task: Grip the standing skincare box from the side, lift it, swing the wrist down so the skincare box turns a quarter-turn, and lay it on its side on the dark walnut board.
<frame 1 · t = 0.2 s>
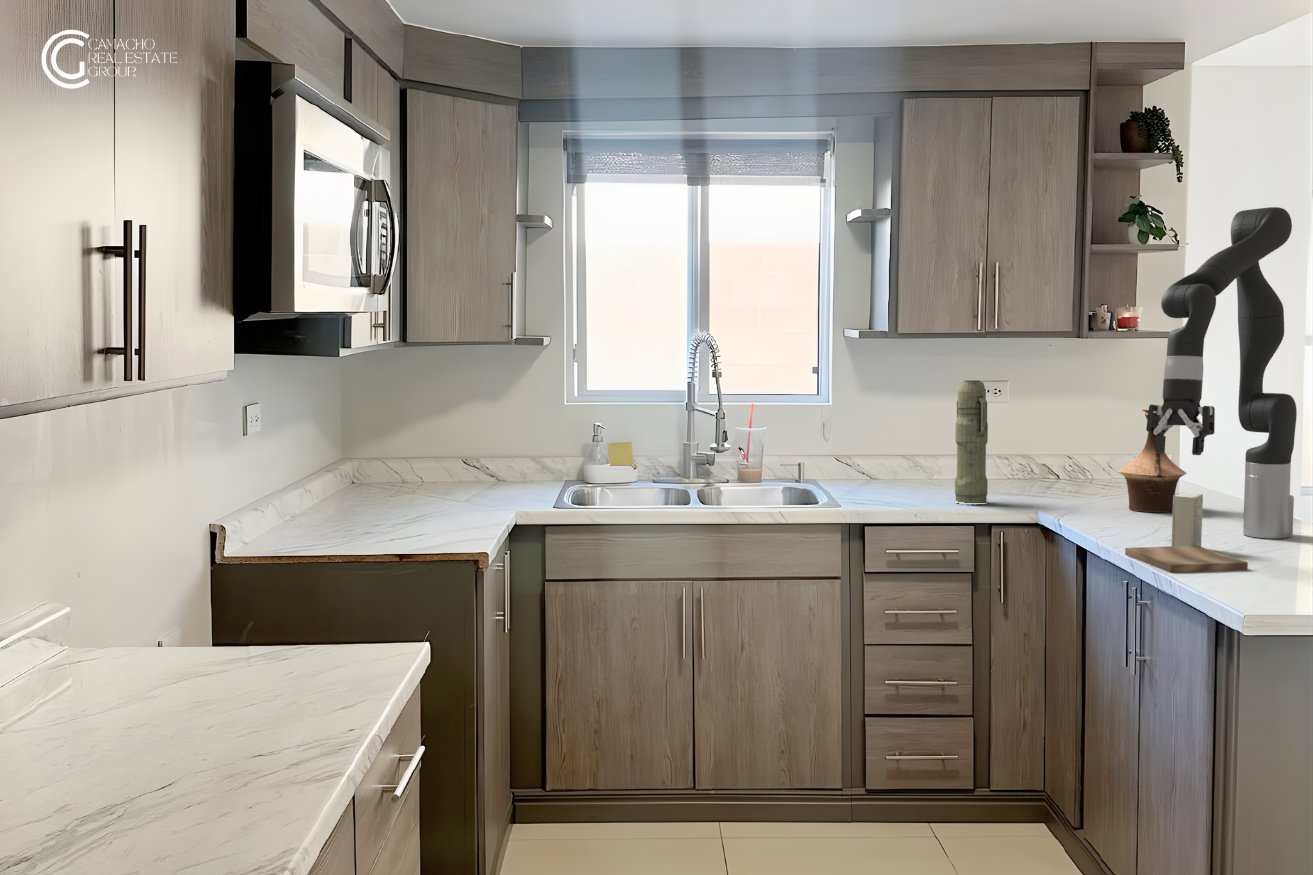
hand: (1177, 453, 231), 22 cm above the worktop, tool pointing down, fingers open, 8 cm apart
walnut board: (1184, 561, 225), on the worktop
pitcher: (1150, 510, 291), on the worktop
thermos: (970, 503, 309), on the worktop
skincare box: (1186, 549, 238), on the worktop
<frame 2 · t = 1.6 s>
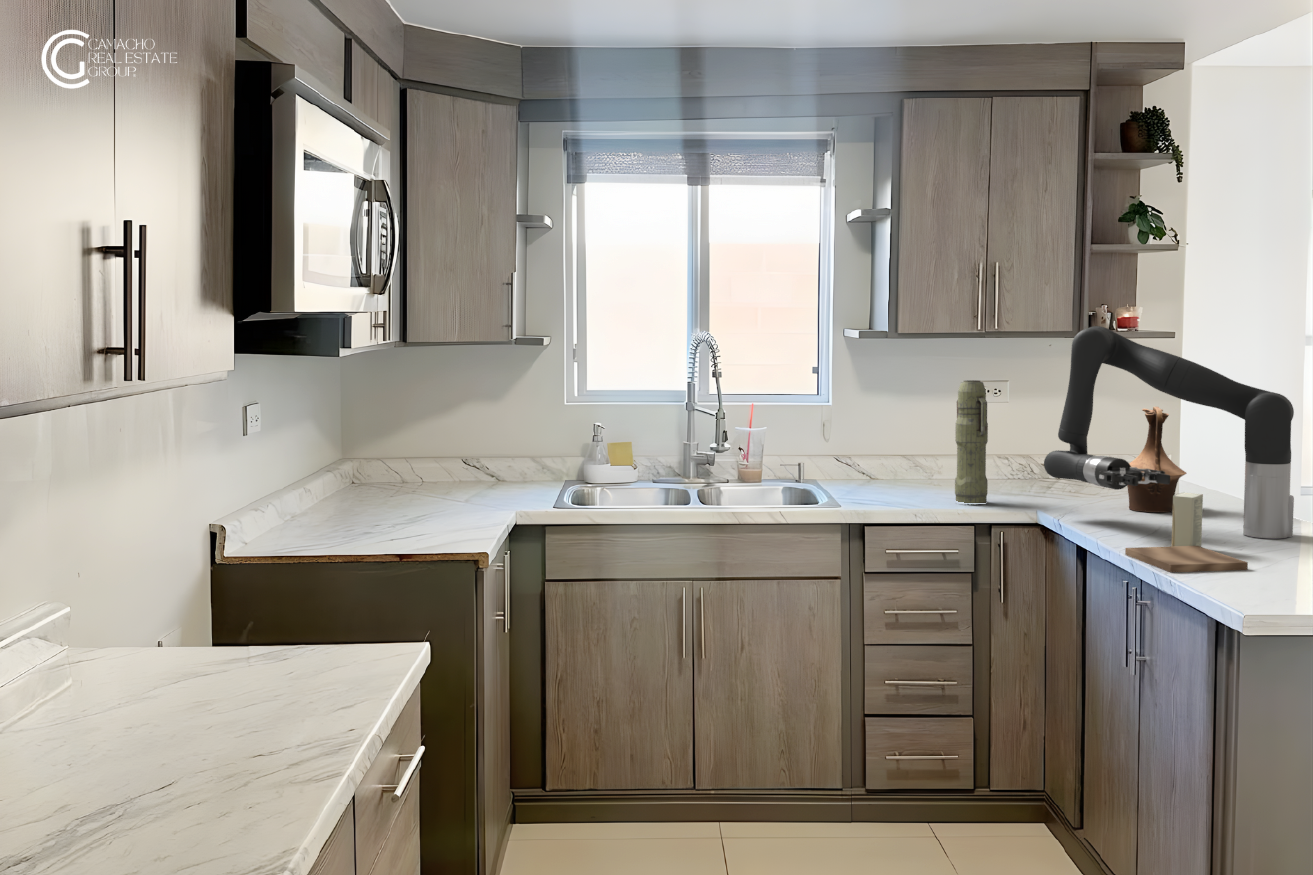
hand: (1153, 480, 248), 14 cm above the worktop, tool horizontal, fingers open, 8 cm apart
nothing on the worktop moved.
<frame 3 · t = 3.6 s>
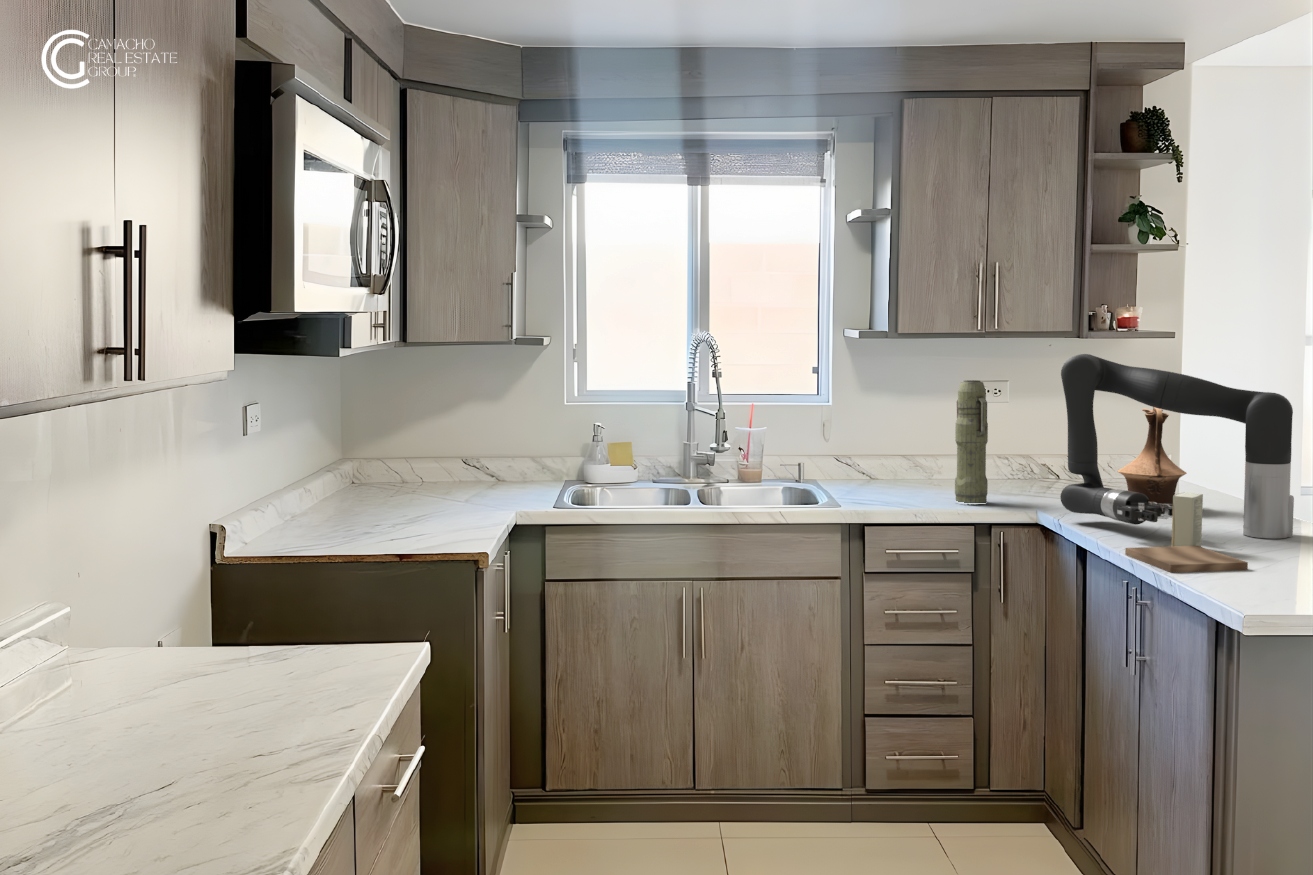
hand: (1172, 516, 242), 7 cm above the worktop, tool horizontal, fingers open, 8 cm apart
nothing on the worktop moved.
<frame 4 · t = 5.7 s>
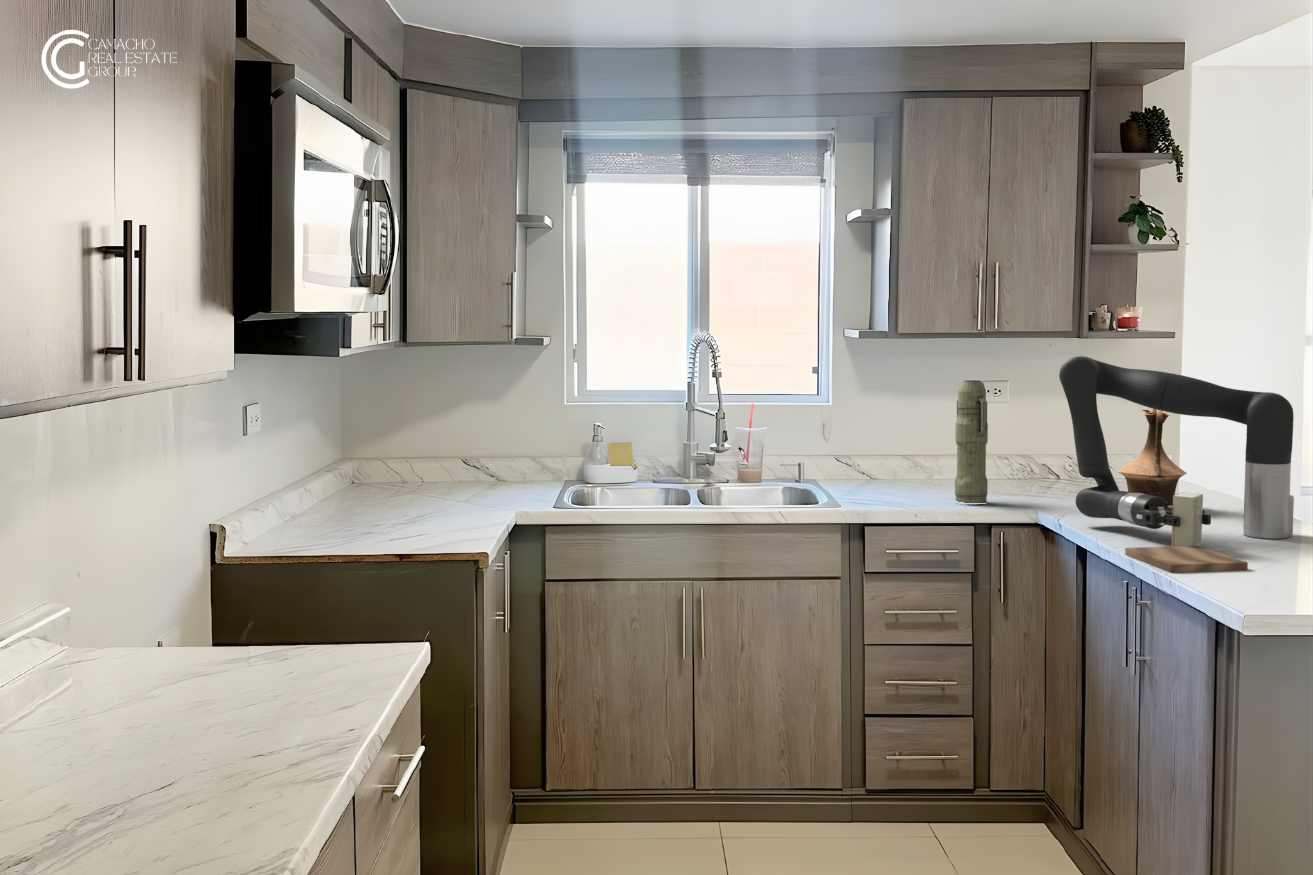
hand: (1194, 521, 236), 7 cm above the worktop, tool horizontal, fingers closed on skincare box, 7 cm apart
skincare box: (1186, 549, 238), on the worktop, touching gripper
everything else where it was.
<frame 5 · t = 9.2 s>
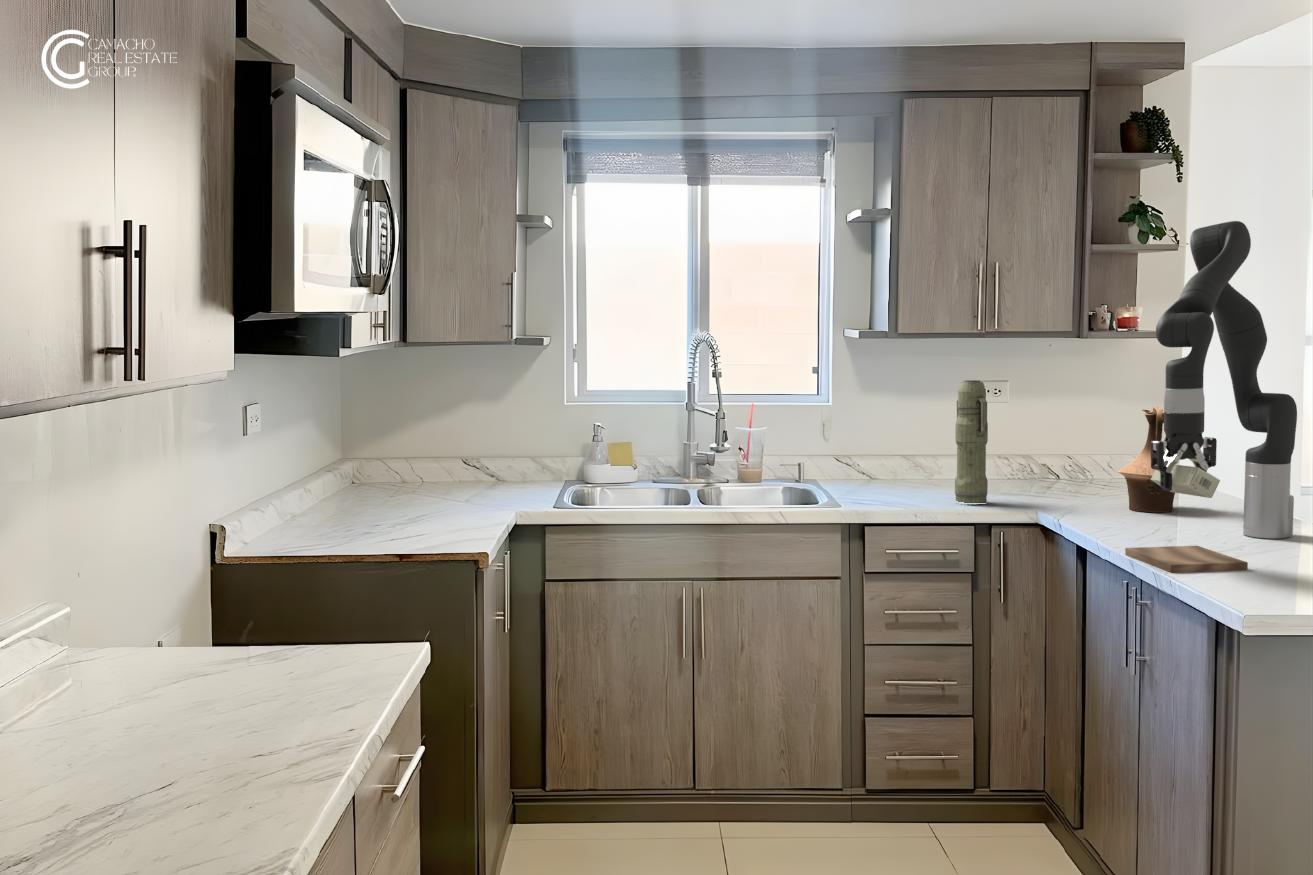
hand: (1183, 489, 224), 15 cm above the worktop, tool pointing down, fingers closed on skincare box, 7 cm apart
skincare box: (1206, 483, 217), point 17 cm above the worktop, touching gripper
everything else where it was.
when the fingers open (4 cm above the worktop, at t = 12.6 s): skincare box drops 2 cm, resting on walnut board.
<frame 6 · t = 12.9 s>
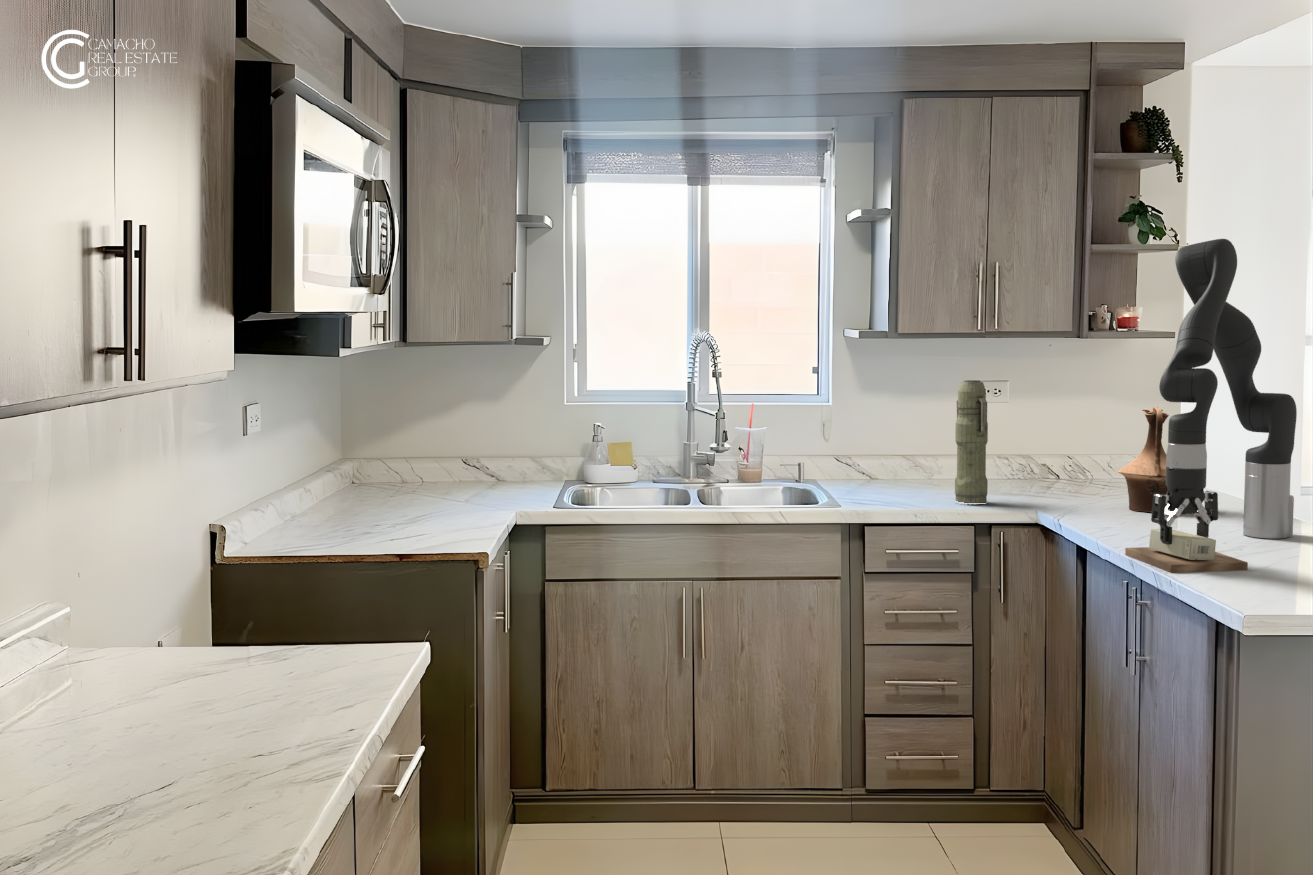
hand: (1184, 542, 224), 4 cm above the worktop, tool pointing down, fingers open, 8 cm apart
skincare box: (1204, 550, 218), point 4 cm above the worktop, touching gripper, walnut board
everything else where it was.
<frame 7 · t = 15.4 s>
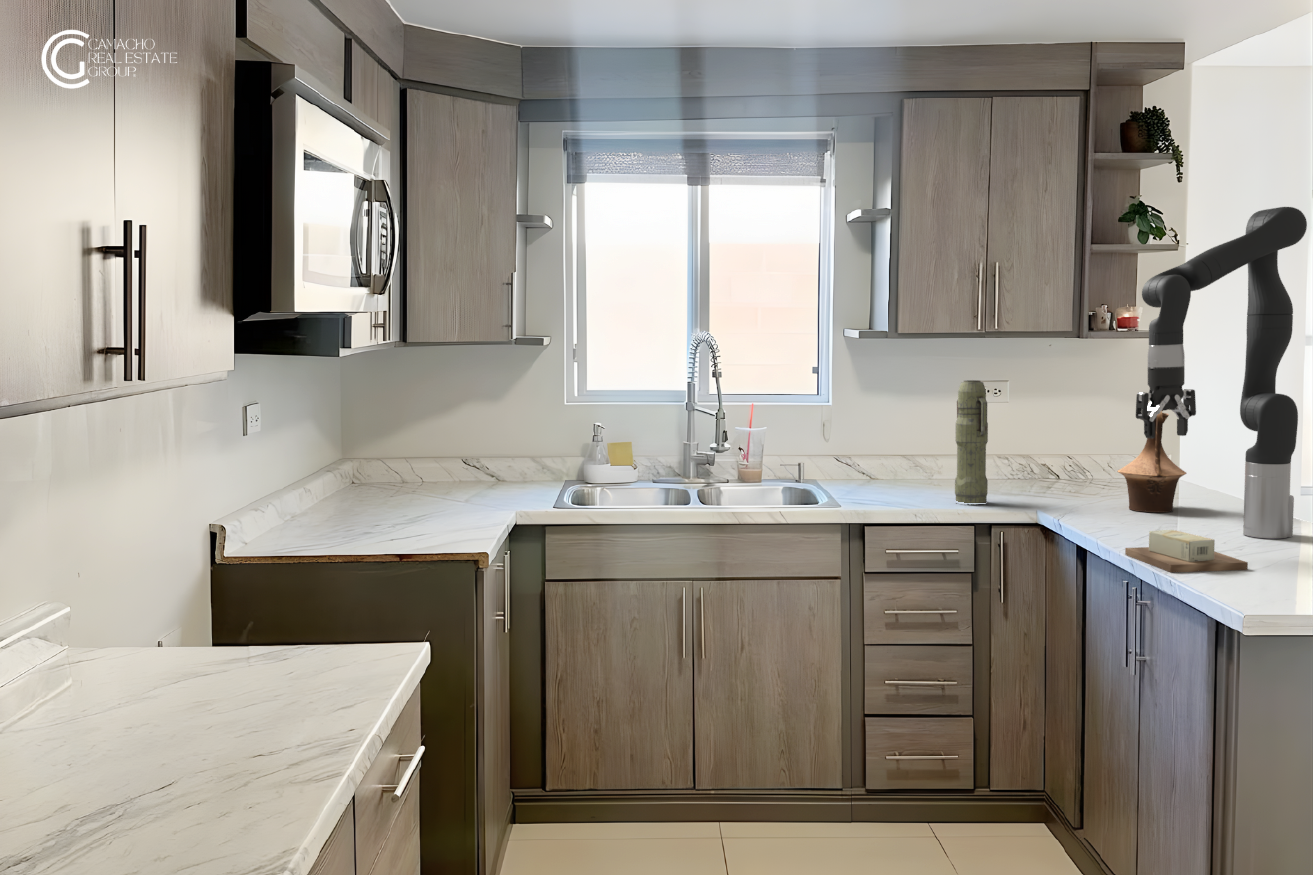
hand: (1165, 436, 244), 24 cm above the worktop, tool pointing down, fingers open, 8 cm apart
skincare box: (1203, 551, 218), point 4 cm above the worktop, touching walnut board
everything else where it was.
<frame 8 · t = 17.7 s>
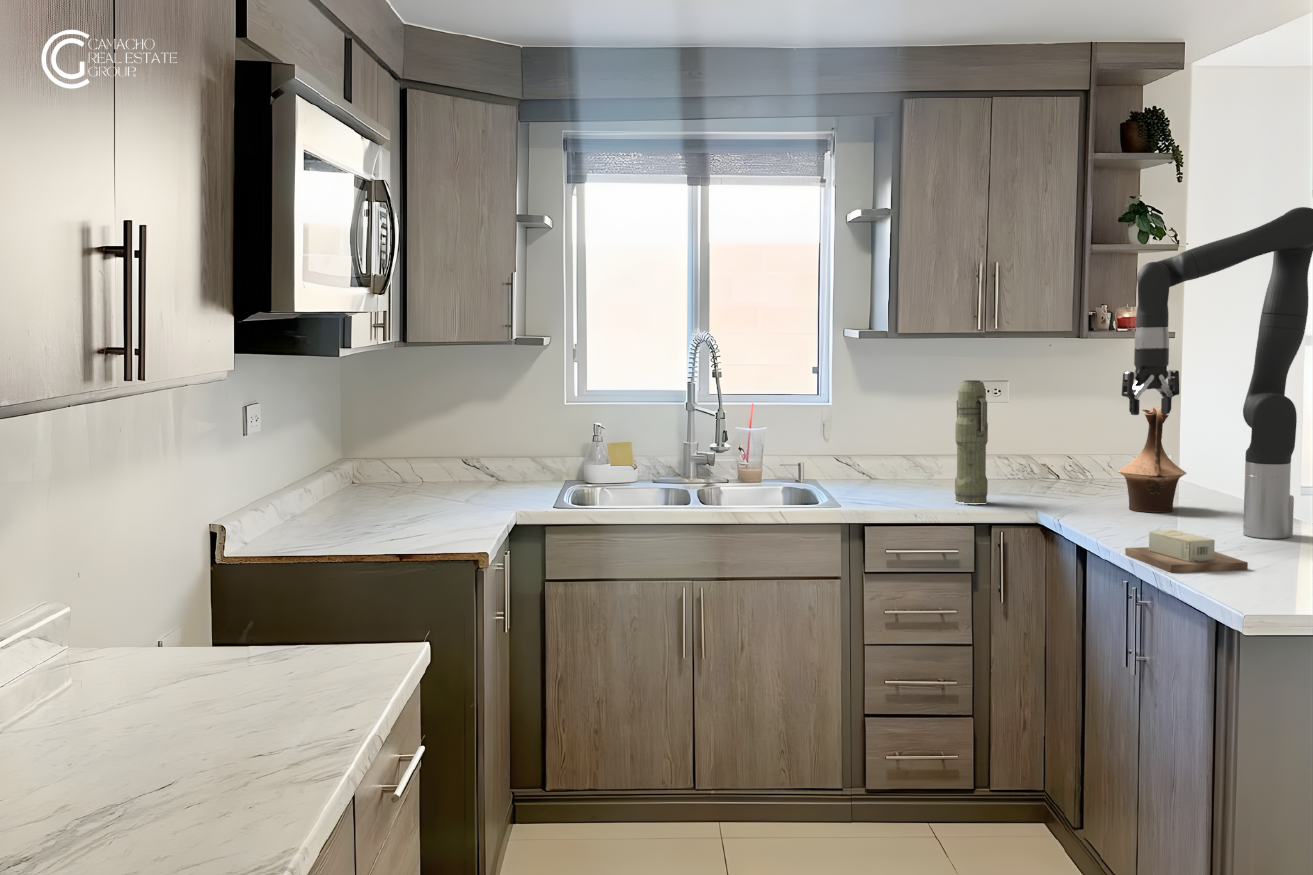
hand: (1150, 414, 260), 28 cm above the worktop, tool pointing down, fingers open, 8 cm apart
nothing on the worktop moved.
at the end: skincare box tilted 89°; skincare box inside the target area on the walnut board (6.7 cm from its centre), point 3.5 cm above the walnut board's base; the gripper is holding nothing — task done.
